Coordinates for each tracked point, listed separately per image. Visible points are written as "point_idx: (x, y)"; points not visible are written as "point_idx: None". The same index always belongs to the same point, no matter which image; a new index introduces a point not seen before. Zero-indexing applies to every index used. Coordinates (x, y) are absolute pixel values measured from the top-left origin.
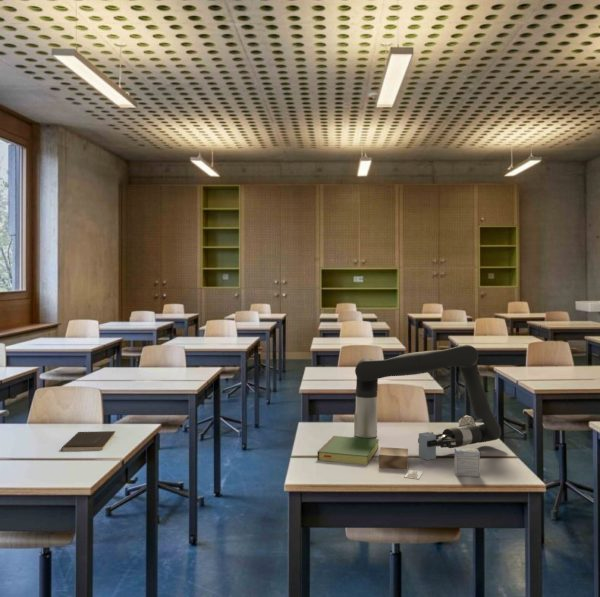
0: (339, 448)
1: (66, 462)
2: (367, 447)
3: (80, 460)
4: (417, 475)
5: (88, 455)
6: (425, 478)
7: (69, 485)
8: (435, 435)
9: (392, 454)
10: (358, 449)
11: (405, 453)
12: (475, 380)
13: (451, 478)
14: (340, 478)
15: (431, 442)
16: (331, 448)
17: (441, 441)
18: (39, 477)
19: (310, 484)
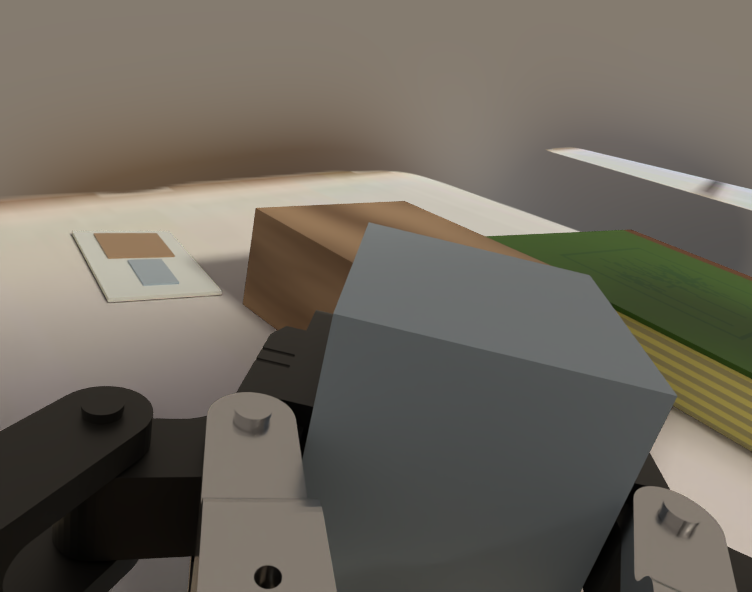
0: (671, 267)
1: (689, 182)
2: (673, 318)
3: (699, 187)
4: (105, 248)
5: (733, 197)
6: (35, 248)
7: (564, 152)
8: (334, 325)
9: (362, 212)
10: (630, 282)
11: (320, 235)
12: None
13: None
14: (364, 197)
15: (275, 334)
16: (675, 259)
17: (103, 394)
18: (613, 160)
19: (372, 171)
